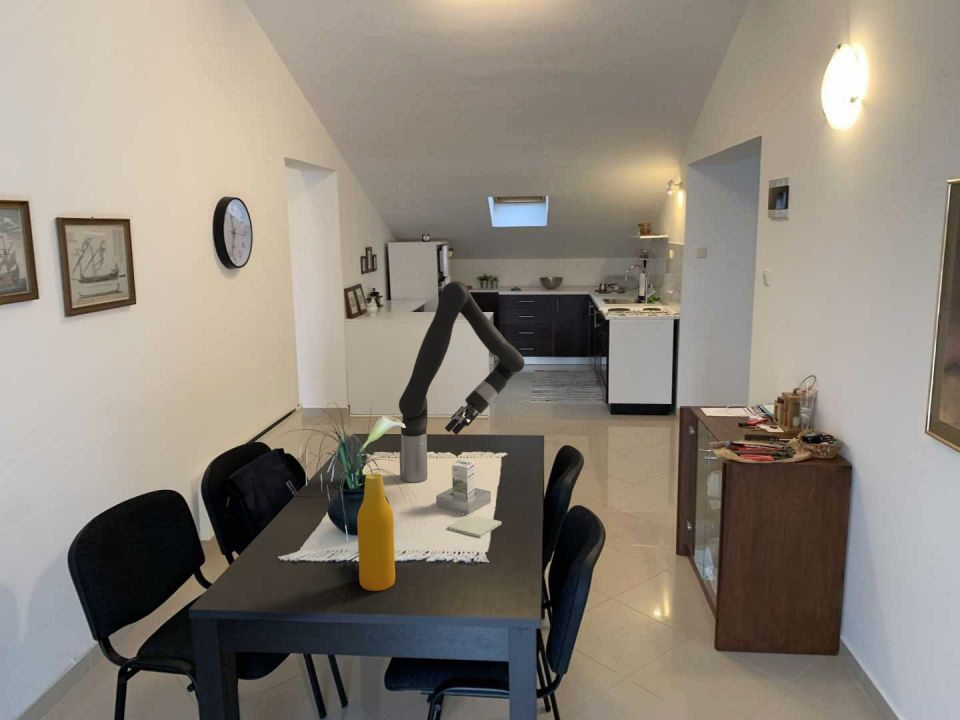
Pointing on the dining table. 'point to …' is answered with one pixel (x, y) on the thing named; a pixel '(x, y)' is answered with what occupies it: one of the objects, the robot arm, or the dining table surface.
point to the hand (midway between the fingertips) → (450, 431)
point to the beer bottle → (375, 537)
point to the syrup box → (463, 479)
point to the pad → (474, 525)
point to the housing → (463, 501)
